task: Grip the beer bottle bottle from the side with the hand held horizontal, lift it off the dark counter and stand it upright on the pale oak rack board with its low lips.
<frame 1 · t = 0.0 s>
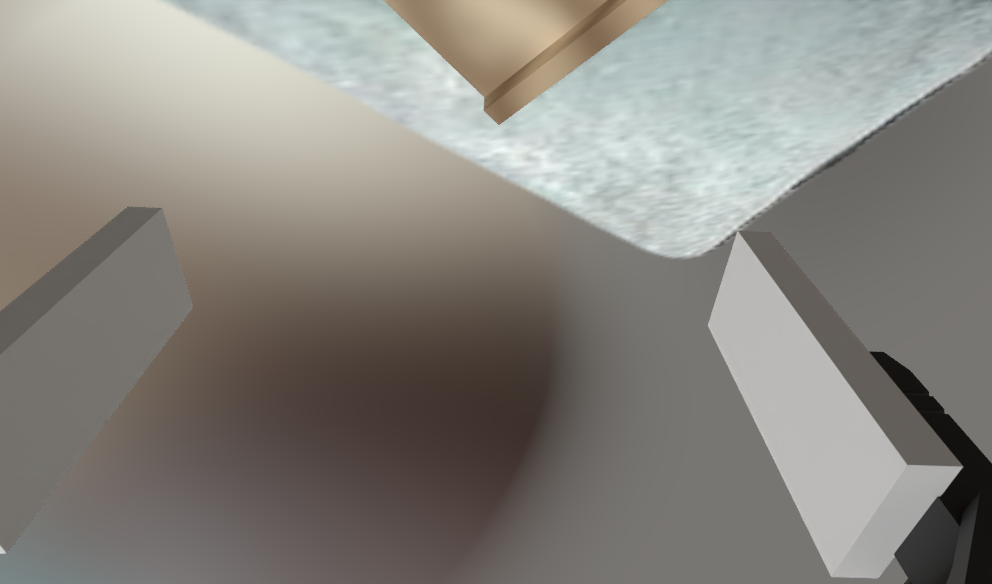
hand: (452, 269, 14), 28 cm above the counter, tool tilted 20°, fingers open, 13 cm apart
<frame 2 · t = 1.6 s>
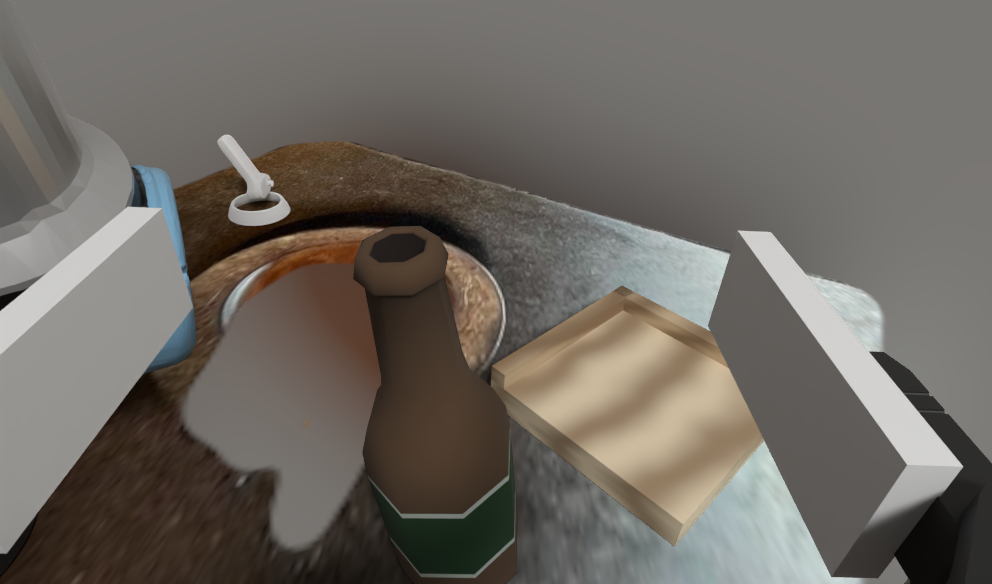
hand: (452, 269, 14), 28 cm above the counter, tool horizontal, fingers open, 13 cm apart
white ring with handle: (259, 213, 75), on the counter
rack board: (638, 407, 49), on the counter
beer bottle: (462, 554, 37), on the counter
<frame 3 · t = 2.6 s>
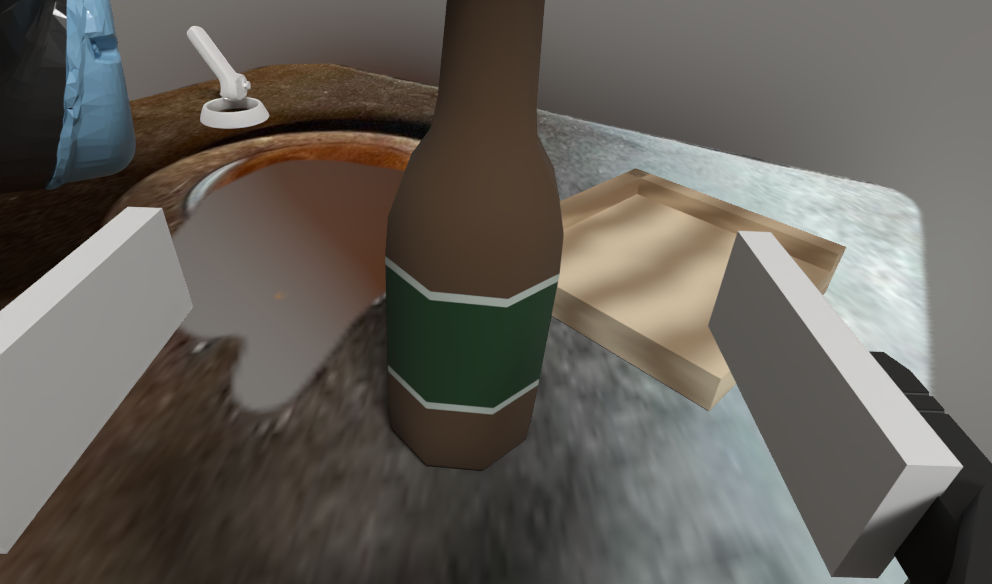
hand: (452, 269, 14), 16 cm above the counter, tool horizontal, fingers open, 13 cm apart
white ring with handle: (235, 119, 69), on the counter
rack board: (658, 285, 43), on the counter
beer bottle: (460, 419, 31), on the counter
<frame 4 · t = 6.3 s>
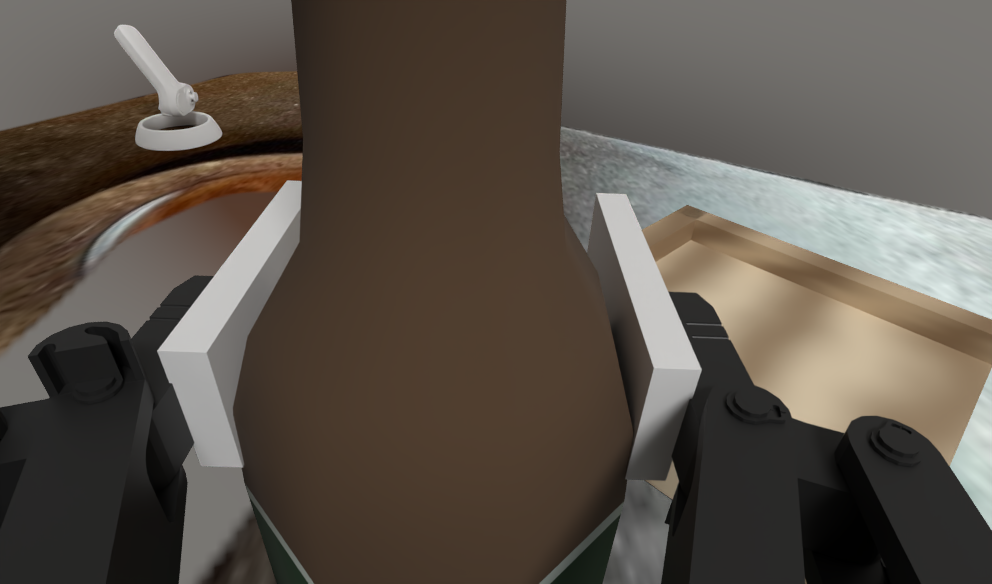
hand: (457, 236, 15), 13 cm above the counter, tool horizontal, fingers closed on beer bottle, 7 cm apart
white ring with handle: (180, 139, 56), on the counter
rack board: (735, 379, 30), on the counter
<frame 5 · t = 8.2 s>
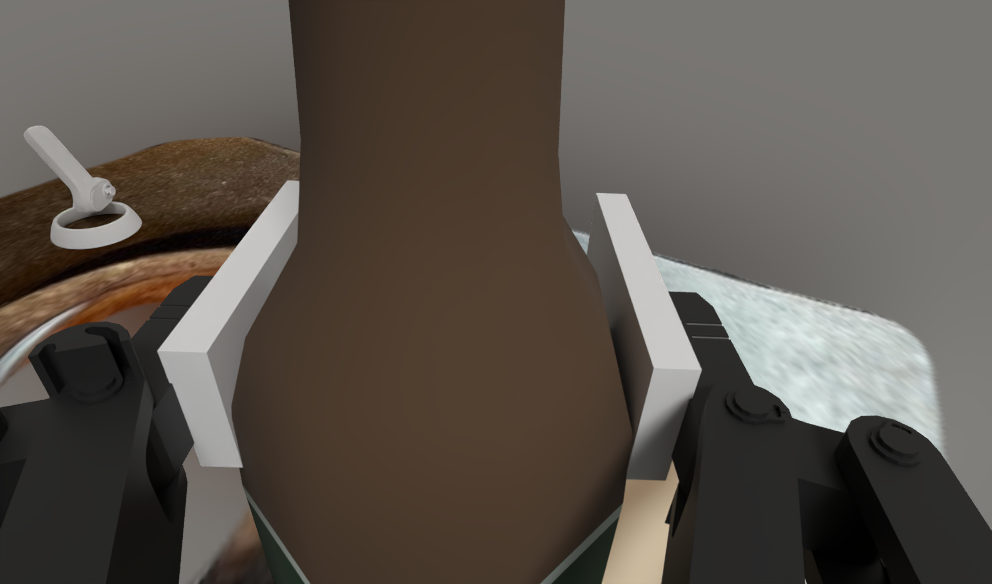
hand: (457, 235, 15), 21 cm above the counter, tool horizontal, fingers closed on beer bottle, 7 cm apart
white ring with handle: (98, 231, 57), on the counter
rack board: (591, 535, 31), on the counter
when the fingers open (17 cm above the counter, at t = 10.4 s): beer bottle drops 1 cm, resting on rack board.
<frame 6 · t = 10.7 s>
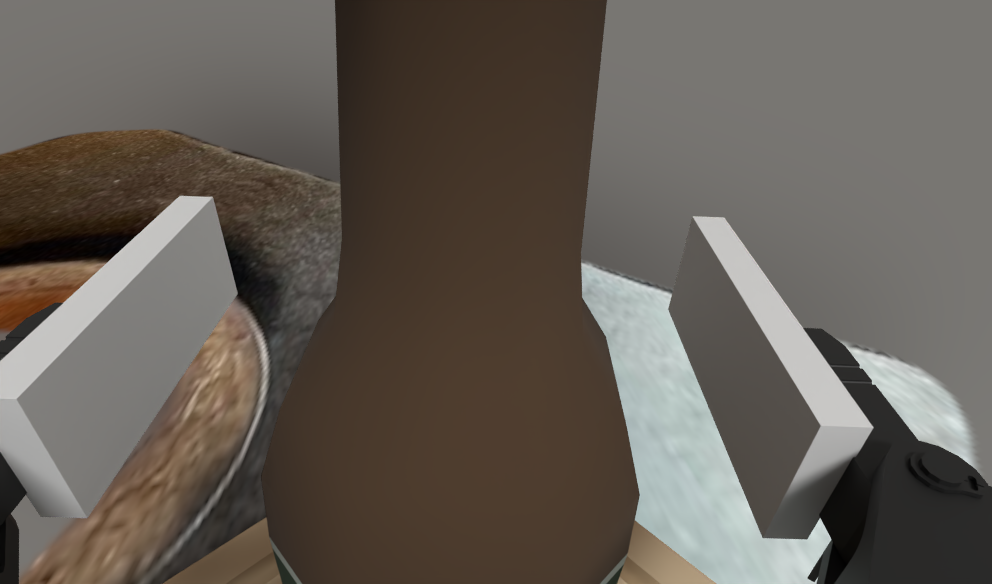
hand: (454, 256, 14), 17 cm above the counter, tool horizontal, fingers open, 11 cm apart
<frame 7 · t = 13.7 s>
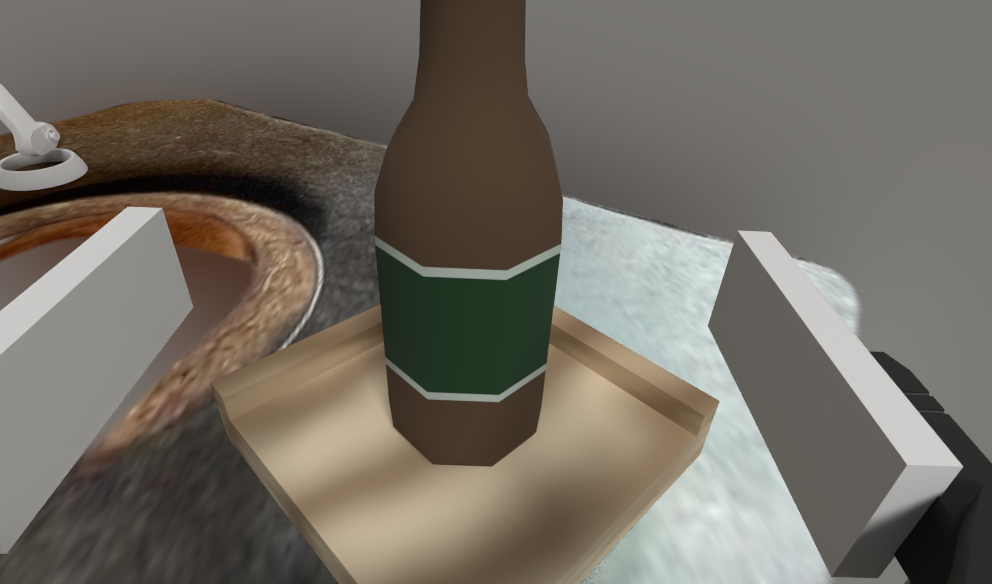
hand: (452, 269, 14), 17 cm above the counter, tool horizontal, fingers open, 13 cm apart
white ring with handle: (43, 177, 57), on the counter
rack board: (465, 445, 31), on the counter
beer bottle: (466, 415, 30), point 2 cm above the counter, touching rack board
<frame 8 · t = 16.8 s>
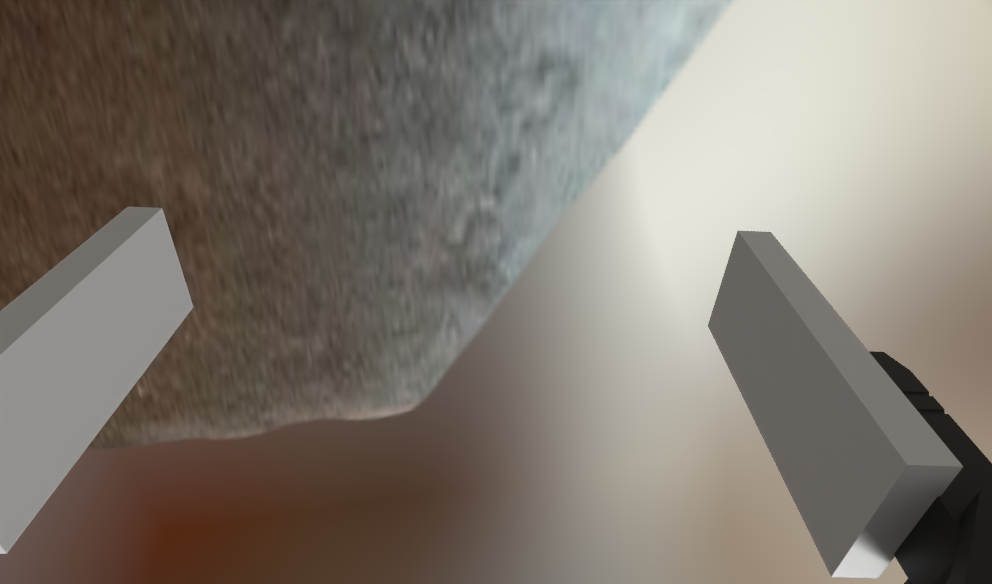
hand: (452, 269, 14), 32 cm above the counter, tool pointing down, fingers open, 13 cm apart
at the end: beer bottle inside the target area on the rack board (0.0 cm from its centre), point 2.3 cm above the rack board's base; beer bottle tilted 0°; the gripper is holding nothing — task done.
